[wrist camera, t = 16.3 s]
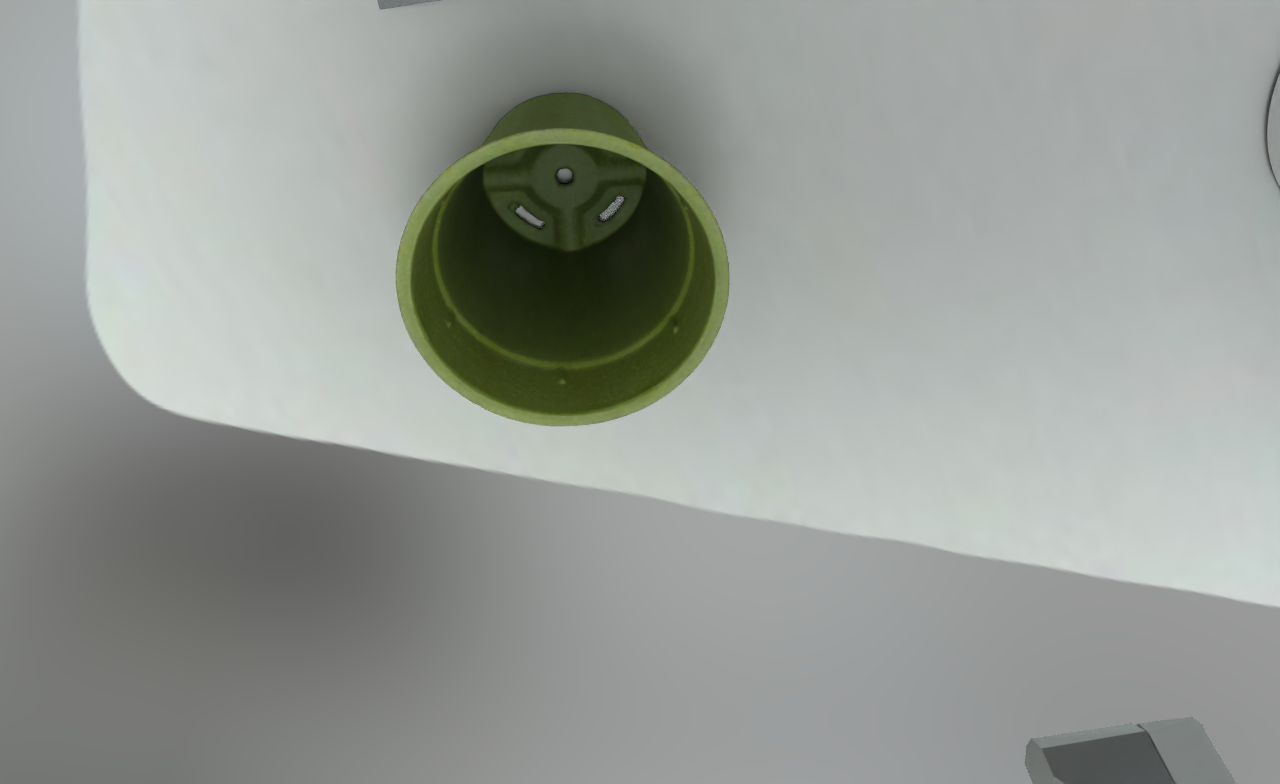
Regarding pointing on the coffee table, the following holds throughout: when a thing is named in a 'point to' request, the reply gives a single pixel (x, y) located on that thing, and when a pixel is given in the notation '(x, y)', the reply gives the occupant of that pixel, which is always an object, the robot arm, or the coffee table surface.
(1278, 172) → the robot arm
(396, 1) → the tray
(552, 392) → the plant pot
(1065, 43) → the coffee table surface
